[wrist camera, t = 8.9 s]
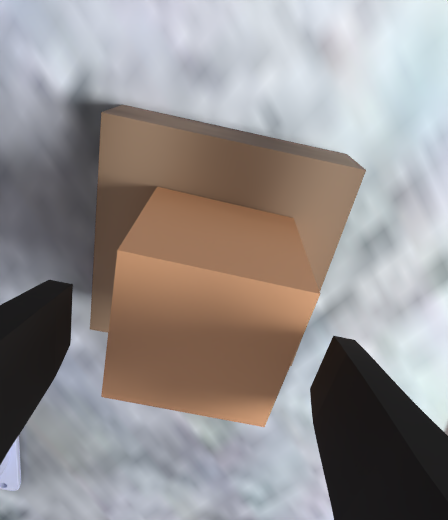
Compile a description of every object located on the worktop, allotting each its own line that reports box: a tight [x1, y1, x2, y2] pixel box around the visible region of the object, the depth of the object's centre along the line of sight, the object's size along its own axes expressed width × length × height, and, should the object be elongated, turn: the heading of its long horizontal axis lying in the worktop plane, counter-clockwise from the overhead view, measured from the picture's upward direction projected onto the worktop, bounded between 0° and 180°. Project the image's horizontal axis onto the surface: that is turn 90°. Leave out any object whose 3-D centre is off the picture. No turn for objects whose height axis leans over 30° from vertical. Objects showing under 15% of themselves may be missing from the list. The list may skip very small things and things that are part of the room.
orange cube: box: [101, 187, 320, 427], centre depth 13 cm, size 5×5×5 cm
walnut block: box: [90, 105, 366, 366], centre depth 16 cm, size 9×9×3 cm
